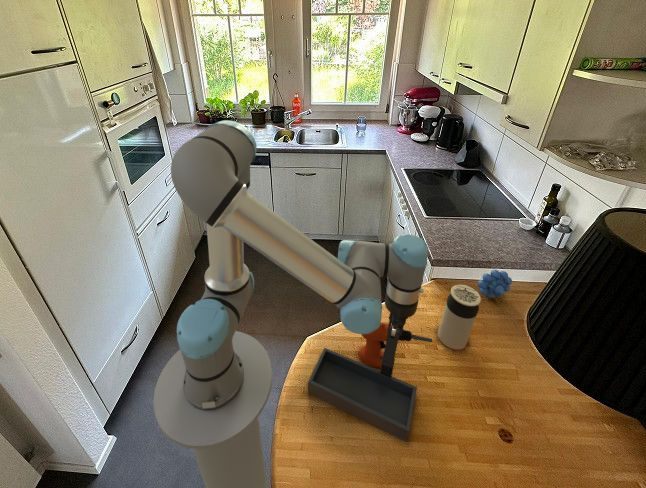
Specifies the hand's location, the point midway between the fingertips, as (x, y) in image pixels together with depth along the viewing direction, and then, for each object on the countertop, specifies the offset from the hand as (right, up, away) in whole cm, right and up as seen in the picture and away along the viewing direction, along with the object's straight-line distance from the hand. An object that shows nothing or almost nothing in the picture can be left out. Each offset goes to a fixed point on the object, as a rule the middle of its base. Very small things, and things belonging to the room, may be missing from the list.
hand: (391, 353), depth 87 cm
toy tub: (-9, -8, -5) cm, 13 cm away
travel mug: (+20, 0, +9) cm, 23 cm away
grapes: (+40, +7, +23) cm, 46 cm away
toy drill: (0, -4, +3) cm, 5 cm away
